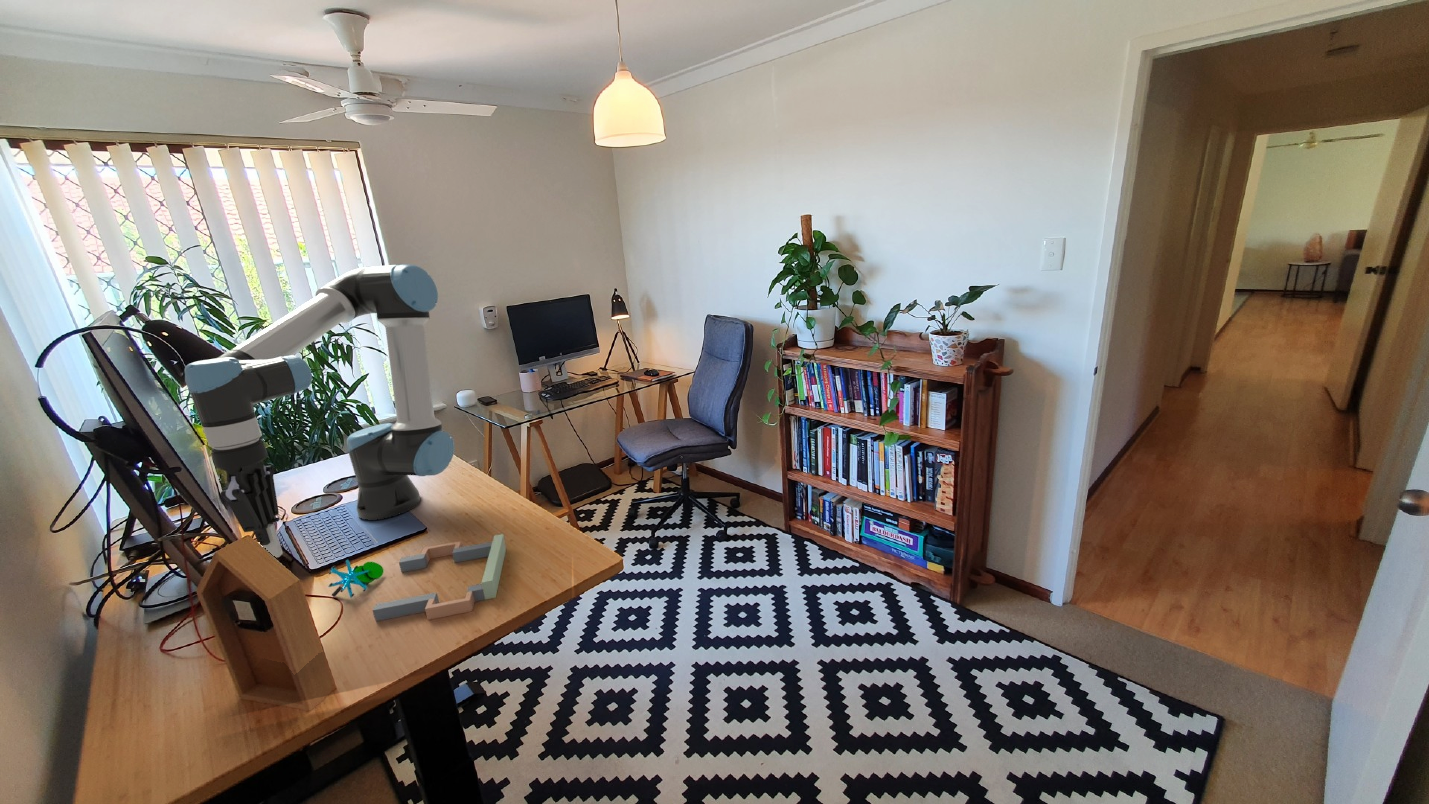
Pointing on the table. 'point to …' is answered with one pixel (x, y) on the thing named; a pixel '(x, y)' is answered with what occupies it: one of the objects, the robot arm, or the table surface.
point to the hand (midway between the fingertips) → (273, 556)
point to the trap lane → (430, 601)
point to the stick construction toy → (356, 576)
